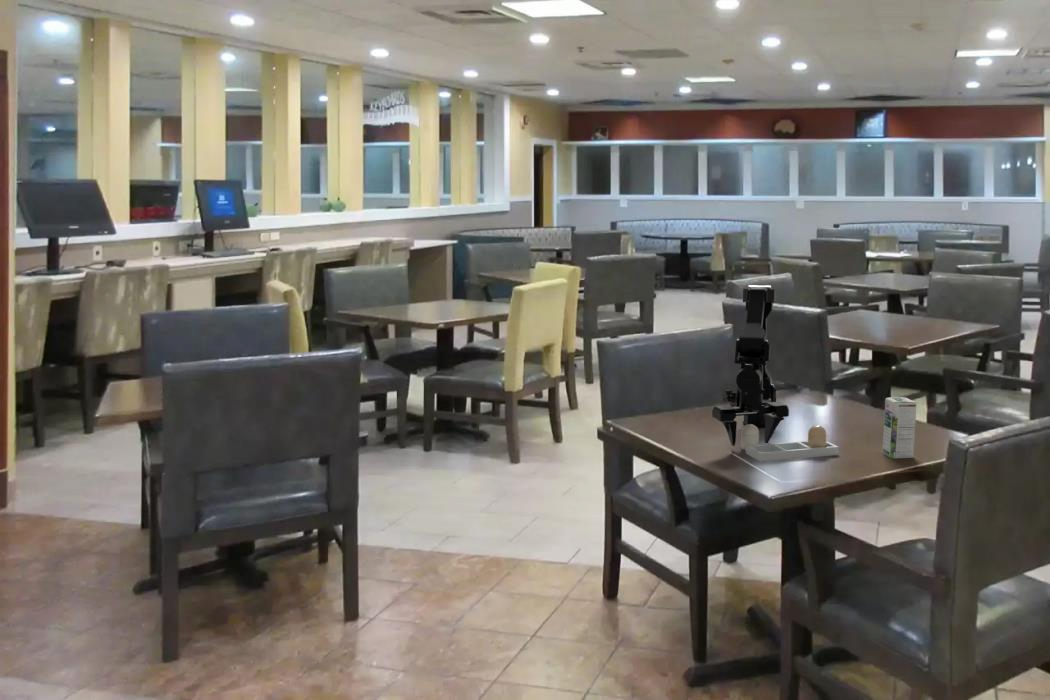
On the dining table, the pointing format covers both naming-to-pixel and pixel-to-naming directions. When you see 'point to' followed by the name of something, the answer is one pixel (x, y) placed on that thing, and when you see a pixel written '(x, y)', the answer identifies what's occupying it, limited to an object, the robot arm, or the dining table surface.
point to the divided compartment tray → (789, 451)
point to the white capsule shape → (749, 436)
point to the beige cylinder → (817, 437)
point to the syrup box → (899, 427)
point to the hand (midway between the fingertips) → (749, 444)
